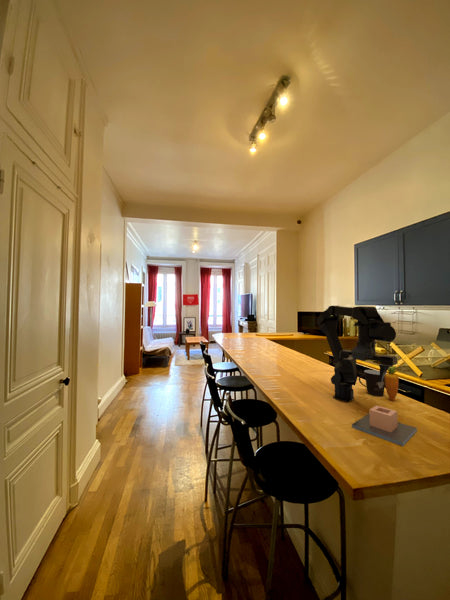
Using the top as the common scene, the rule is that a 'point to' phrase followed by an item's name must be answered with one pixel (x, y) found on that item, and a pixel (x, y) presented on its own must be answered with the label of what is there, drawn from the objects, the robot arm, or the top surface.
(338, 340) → the robot arm
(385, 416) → the socket block
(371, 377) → the coffee mug
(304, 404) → the top surface
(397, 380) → the carrot
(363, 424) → the pin plate
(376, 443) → the top surface
